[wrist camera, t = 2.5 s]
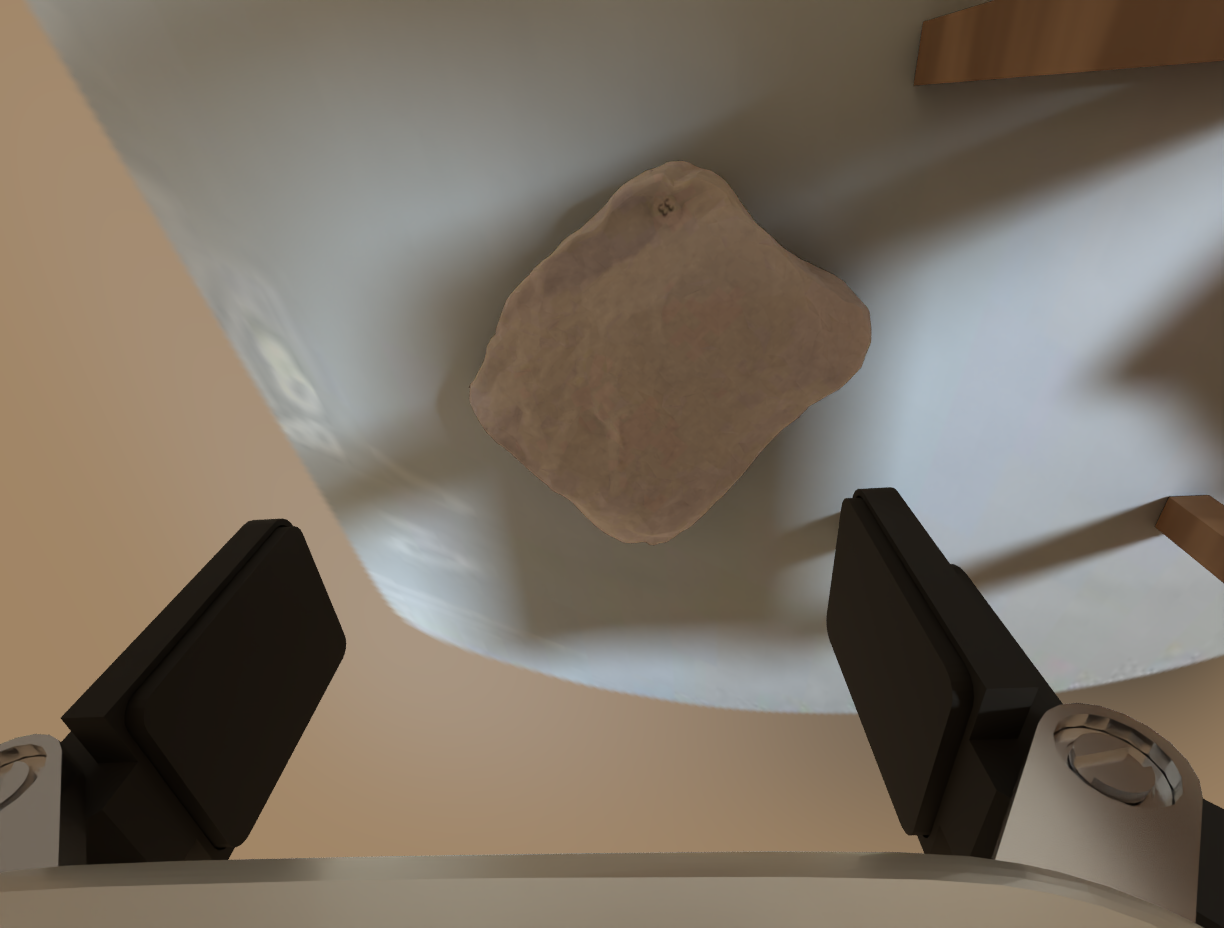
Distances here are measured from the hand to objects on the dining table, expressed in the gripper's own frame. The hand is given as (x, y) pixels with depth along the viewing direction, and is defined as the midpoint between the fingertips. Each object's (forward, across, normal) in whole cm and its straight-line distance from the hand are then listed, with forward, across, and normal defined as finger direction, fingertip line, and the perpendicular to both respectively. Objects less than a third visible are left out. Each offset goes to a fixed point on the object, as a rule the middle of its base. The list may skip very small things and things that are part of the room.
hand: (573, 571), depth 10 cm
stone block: (+13, -2, 0) cm, 14 cm away
